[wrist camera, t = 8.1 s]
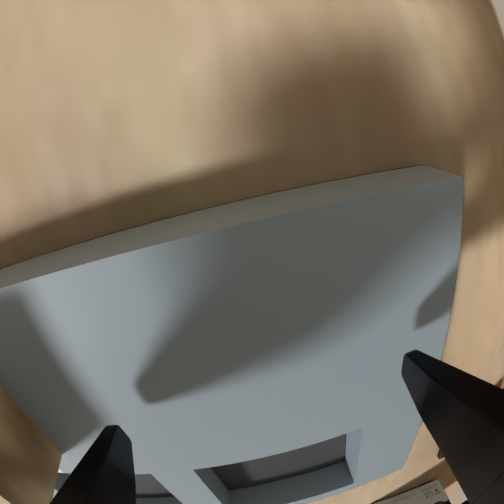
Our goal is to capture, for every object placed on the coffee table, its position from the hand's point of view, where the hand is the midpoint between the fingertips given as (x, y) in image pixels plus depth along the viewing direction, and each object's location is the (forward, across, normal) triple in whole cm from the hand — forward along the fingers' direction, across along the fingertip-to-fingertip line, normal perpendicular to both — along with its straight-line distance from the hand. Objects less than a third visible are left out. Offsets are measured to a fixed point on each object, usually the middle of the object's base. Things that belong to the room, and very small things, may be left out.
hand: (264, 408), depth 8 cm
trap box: (+3, +5, +4) cm, 7 cm away
